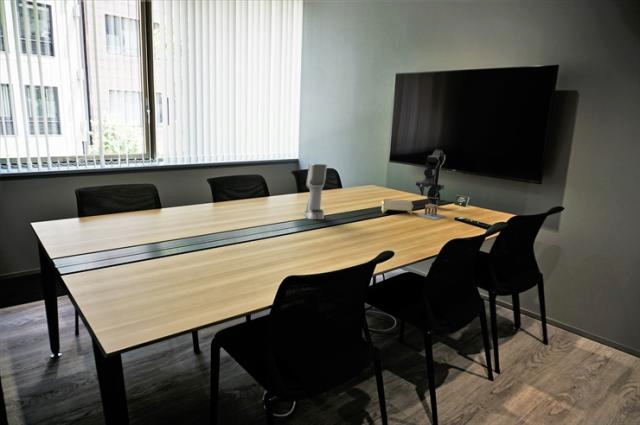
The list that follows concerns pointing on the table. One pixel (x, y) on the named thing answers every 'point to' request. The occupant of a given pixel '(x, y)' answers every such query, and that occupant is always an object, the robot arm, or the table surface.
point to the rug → (431, 216)
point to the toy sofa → (397, 205)
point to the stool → (430, 209)
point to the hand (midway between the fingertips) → (428, 197)
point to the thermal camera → (315, 190)
